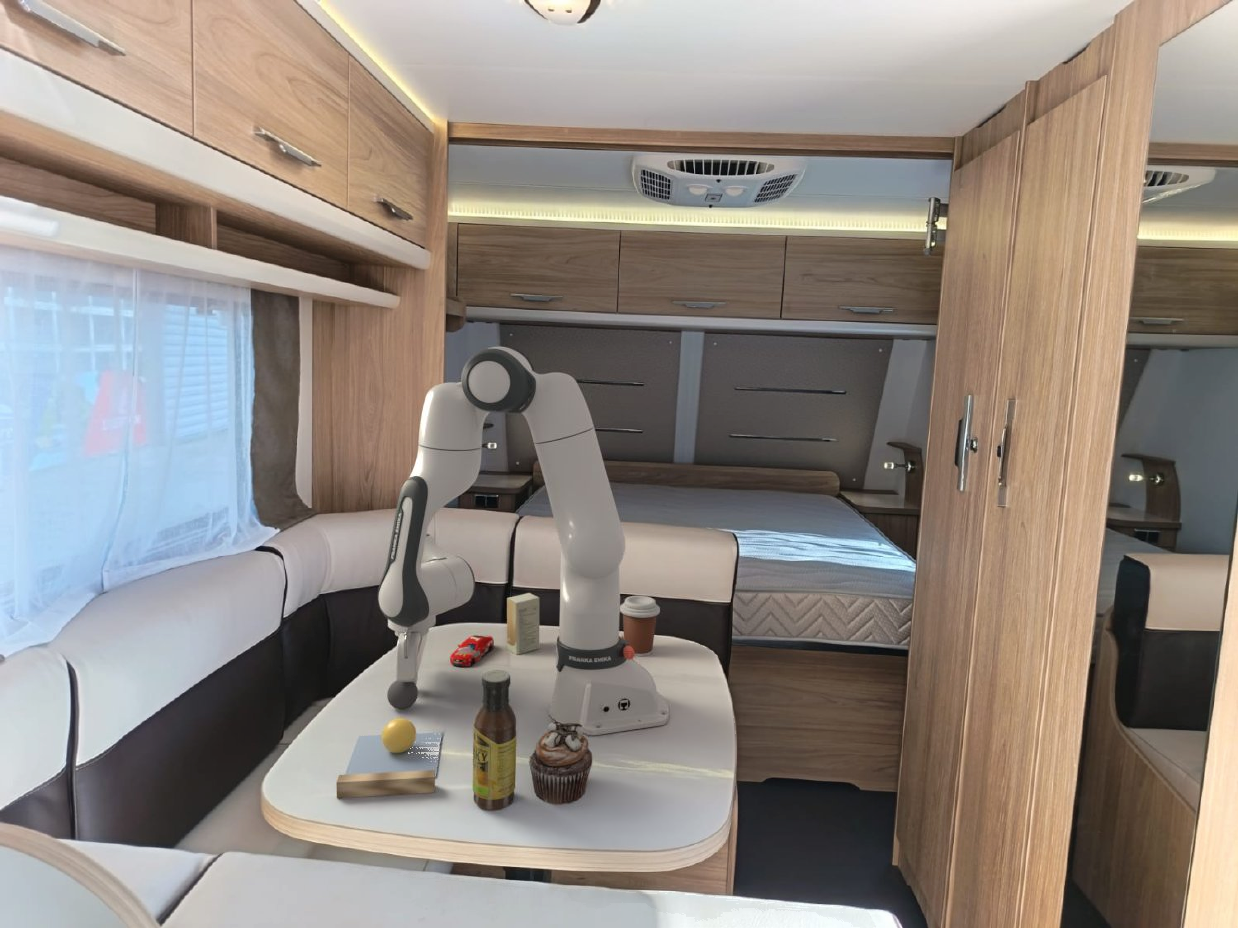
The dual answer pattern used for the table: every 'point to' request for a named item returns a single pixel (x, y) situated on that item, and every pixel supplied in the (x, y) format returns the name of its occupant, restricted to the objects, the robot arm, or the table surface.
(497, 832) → the table surface
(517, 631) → the skincare box
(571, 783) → the cupcake
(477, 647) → the race car
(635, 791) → the table surface
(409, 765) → the board
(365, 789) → the rail
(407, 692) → the grey sphere
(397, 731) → the ochre ball
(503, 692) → the sauce bottle
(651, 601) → the coffee cup
